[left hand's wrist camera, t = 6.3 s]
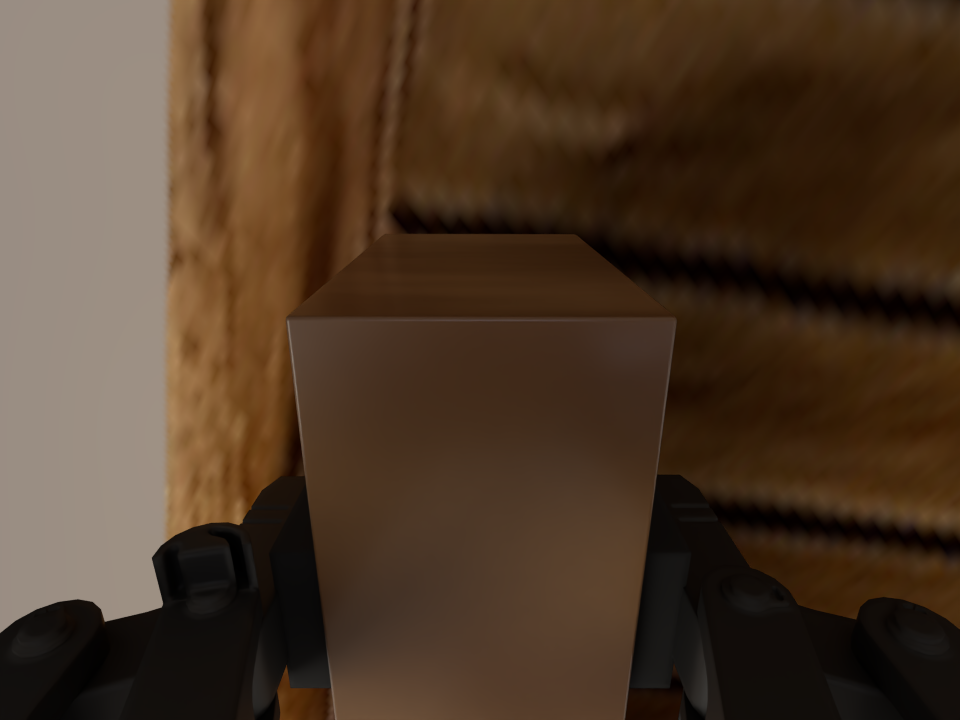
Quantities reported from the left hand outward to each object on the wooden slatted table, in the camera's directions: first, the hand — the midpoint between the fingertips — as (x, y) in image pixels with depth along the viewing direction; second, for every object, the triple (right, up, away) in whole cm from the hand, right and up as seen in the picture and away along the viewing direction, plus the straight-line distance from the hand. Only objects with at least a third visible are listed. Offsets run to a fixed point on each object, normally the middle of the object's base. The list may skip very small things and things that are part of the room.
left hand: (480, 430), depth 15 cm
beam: (0, -17, +7) cm, 19 cm away
